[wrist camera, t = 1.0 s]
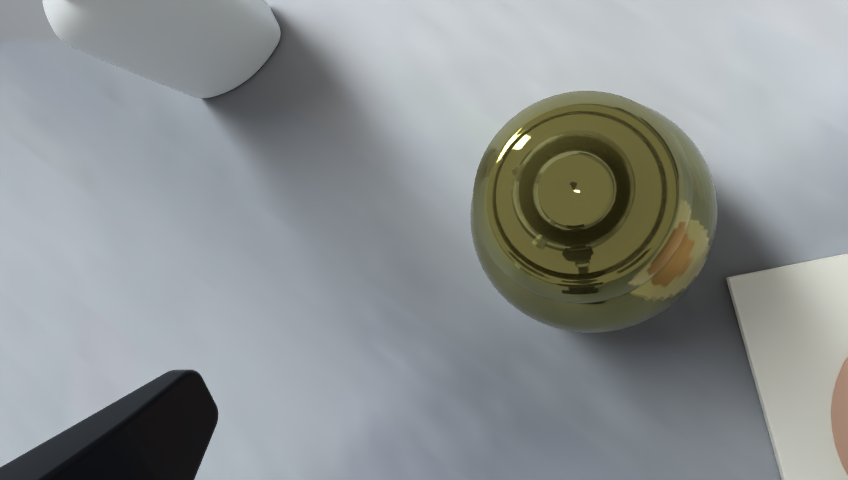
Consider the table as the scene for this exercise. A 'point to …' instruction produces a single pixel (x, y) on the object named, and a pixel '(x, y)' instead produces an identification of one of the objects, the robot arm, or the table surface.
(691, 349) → the table surface
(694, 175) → the brass door knob
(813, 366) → the card
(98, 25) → the eye dropper bottle
